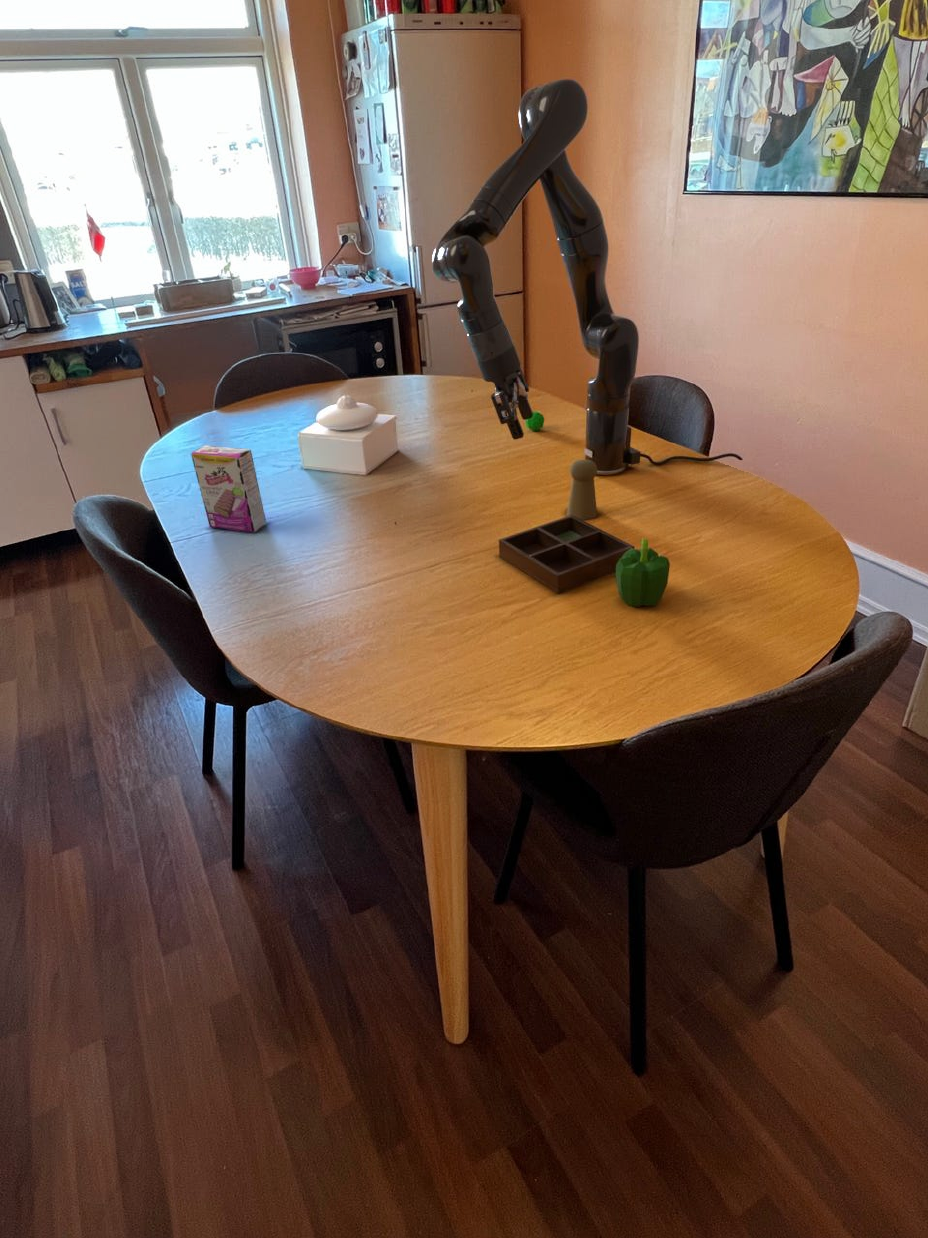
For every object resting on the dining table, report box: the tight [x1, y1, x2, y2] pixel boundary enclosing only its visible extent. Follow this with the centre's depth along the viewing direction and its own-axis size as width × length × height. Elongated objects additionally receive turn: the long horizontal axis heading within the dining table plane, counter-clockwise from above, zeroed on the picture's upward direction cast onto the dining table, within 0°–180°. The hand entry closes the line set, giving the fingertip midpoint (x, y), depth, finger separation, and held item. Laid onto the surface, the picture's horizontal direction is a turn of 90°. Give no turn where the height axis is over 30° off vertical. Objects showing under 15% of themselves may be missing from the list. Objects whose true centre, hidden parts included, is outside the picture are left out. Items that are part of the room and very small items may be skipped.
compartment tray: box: [498, 515, 635, 595], centre depth 133 cm, size 17×17×4 cm
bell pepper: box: [615, 538, 671, 608], centre depth 119 cm, size 8×8×10 cm
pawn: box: [566, 459, 598, 521], centre depth 148 cm, size 6×6×11 cm
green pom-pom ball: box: [524, 410, 545, 432], centre depth 196 cm, size 5×5×5 cm
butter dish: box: [296, 394, 399, 476], centre depth 181 cm, size 18×18×16 cm
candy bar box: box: [190, 445, 267, 534], centre depth 150 cm, size 11×5×16 cm, turn 71°
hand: (523, 427), depth 146 cm, fingers open, 8 cm apart
